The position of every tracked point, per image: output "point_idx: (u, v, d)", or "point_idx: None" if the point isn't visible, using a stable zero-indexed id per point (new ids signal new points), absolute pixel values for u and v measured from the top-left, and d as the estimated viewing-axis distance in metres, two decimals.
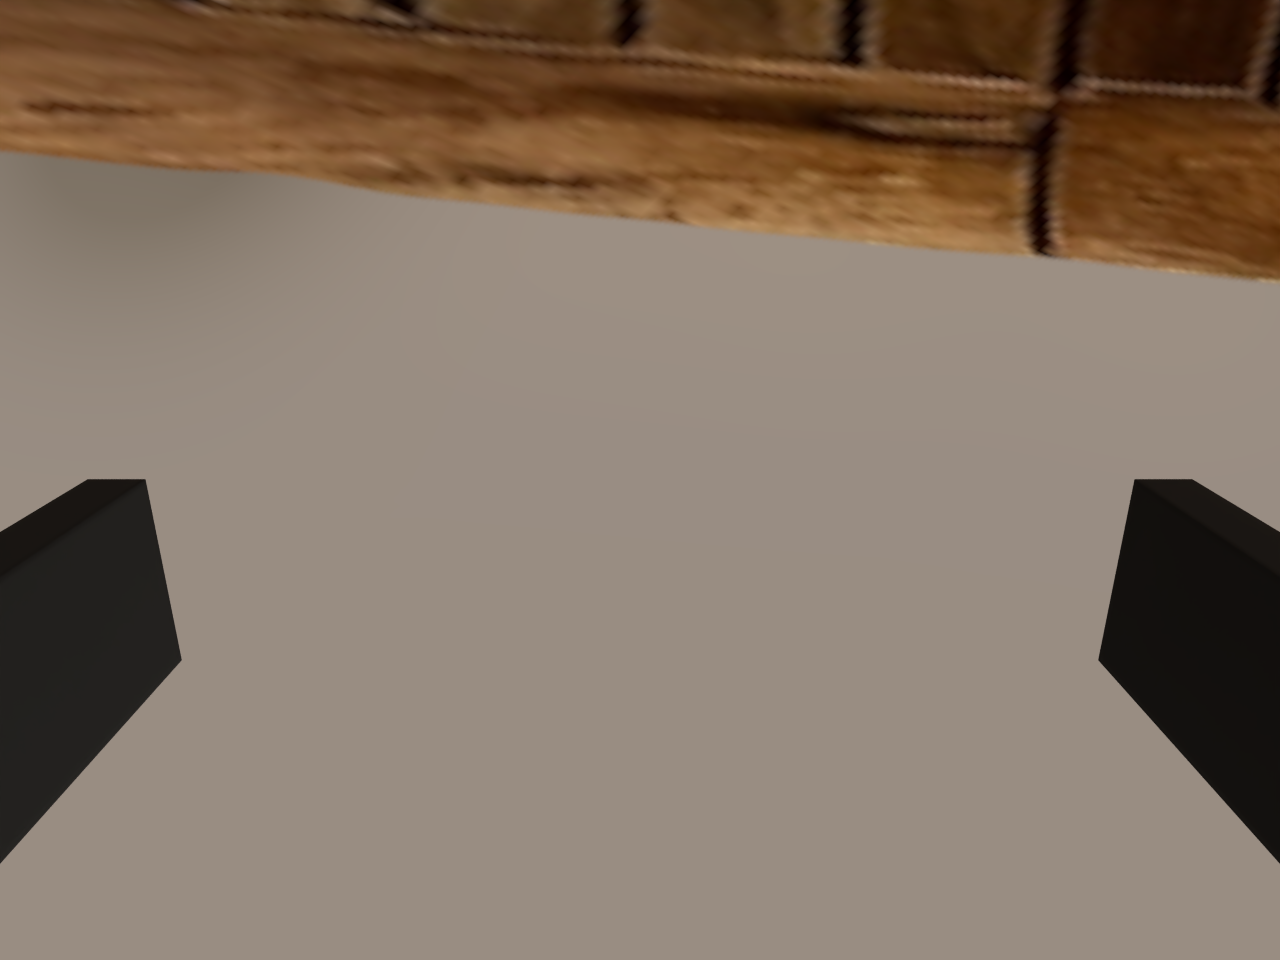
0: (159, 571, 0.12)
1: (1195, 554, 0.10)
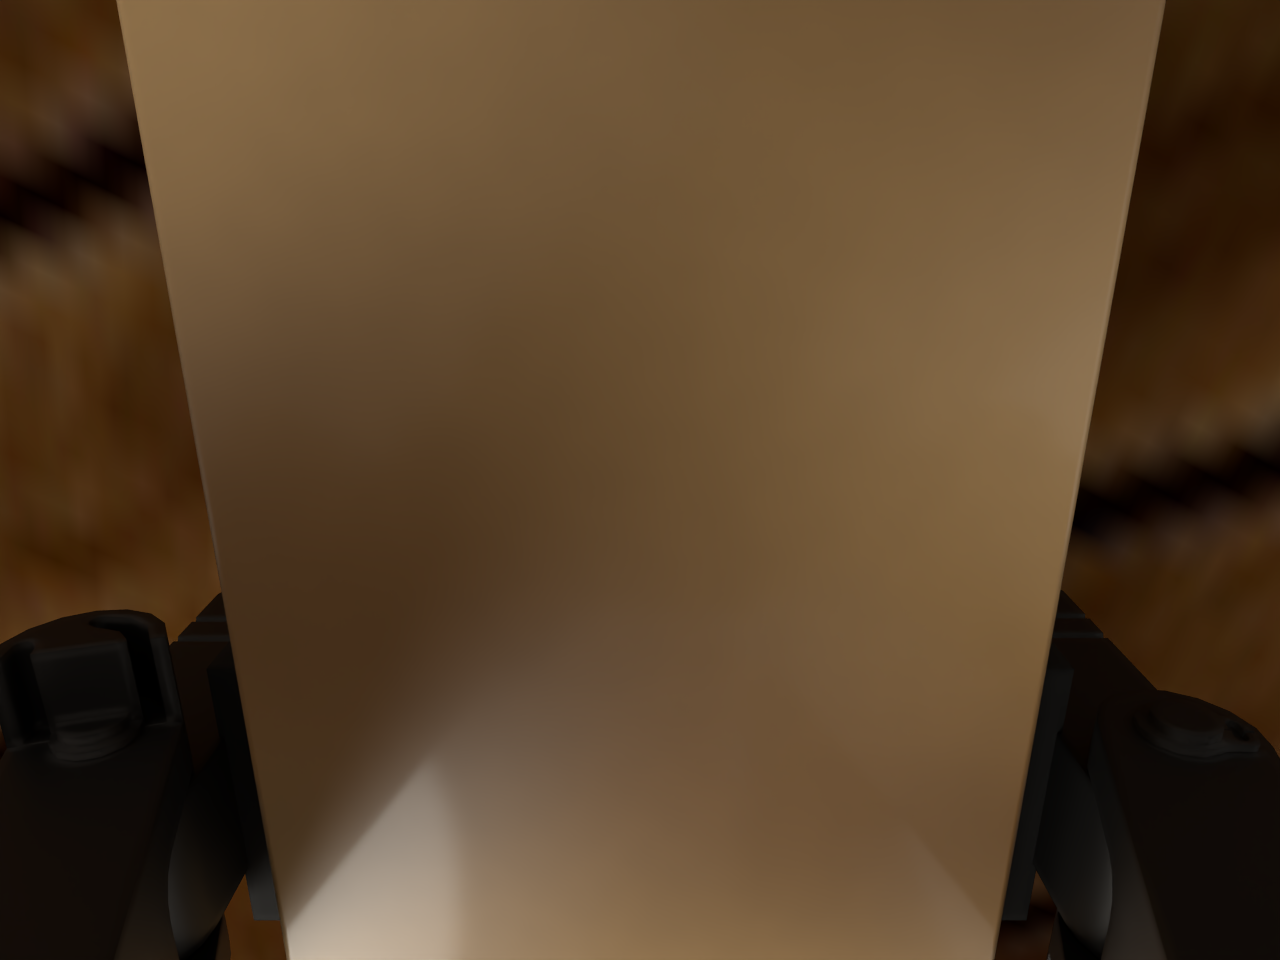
0: None
1: None
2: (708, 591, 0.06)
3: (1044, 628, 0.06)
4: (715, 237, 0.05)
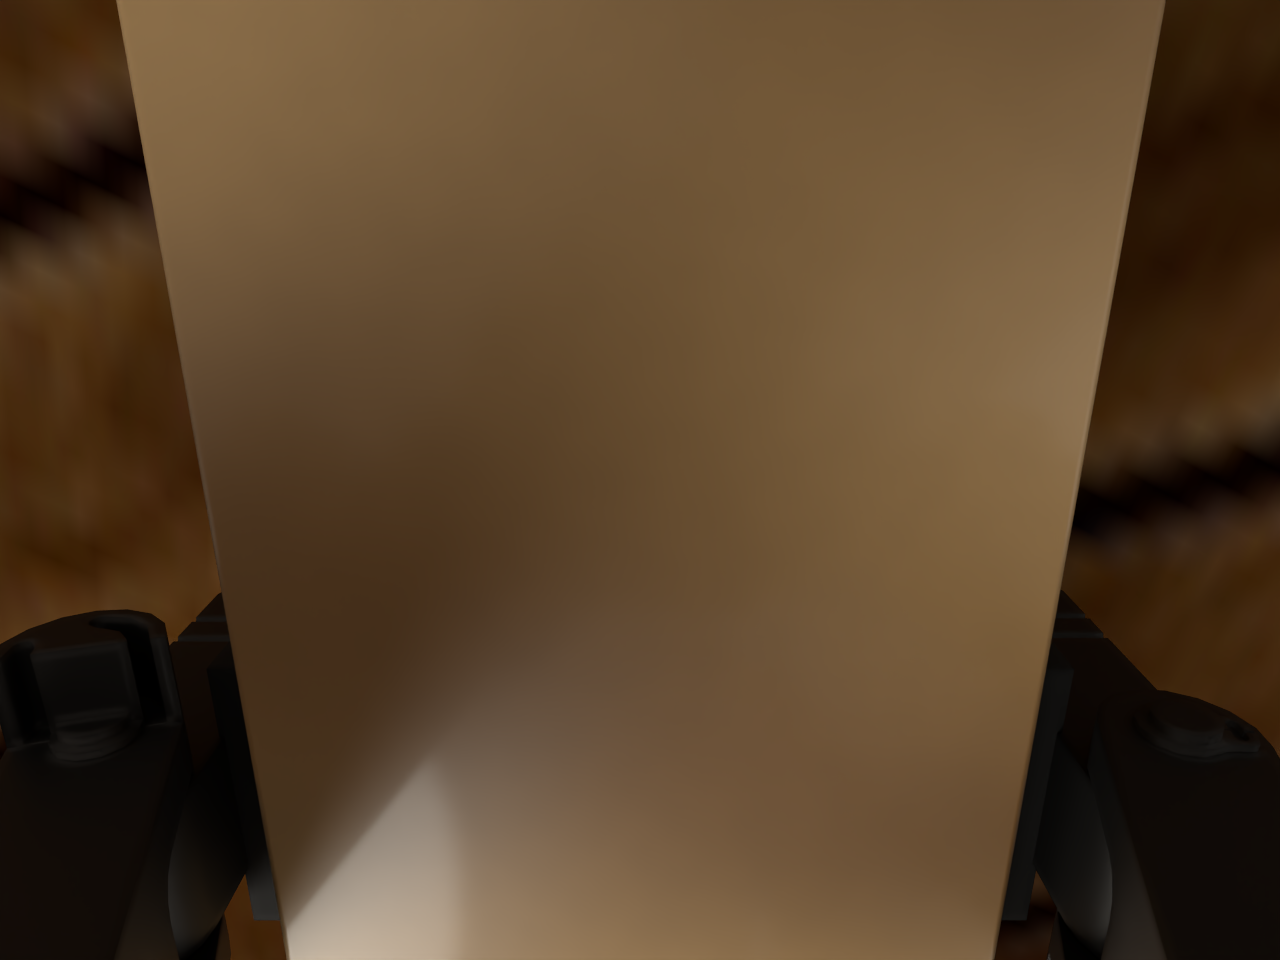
0: None
1: None
2: (709, 589, 0.06)
3: (1044, 628, 0.06)
4: (715, 237, 0.05)
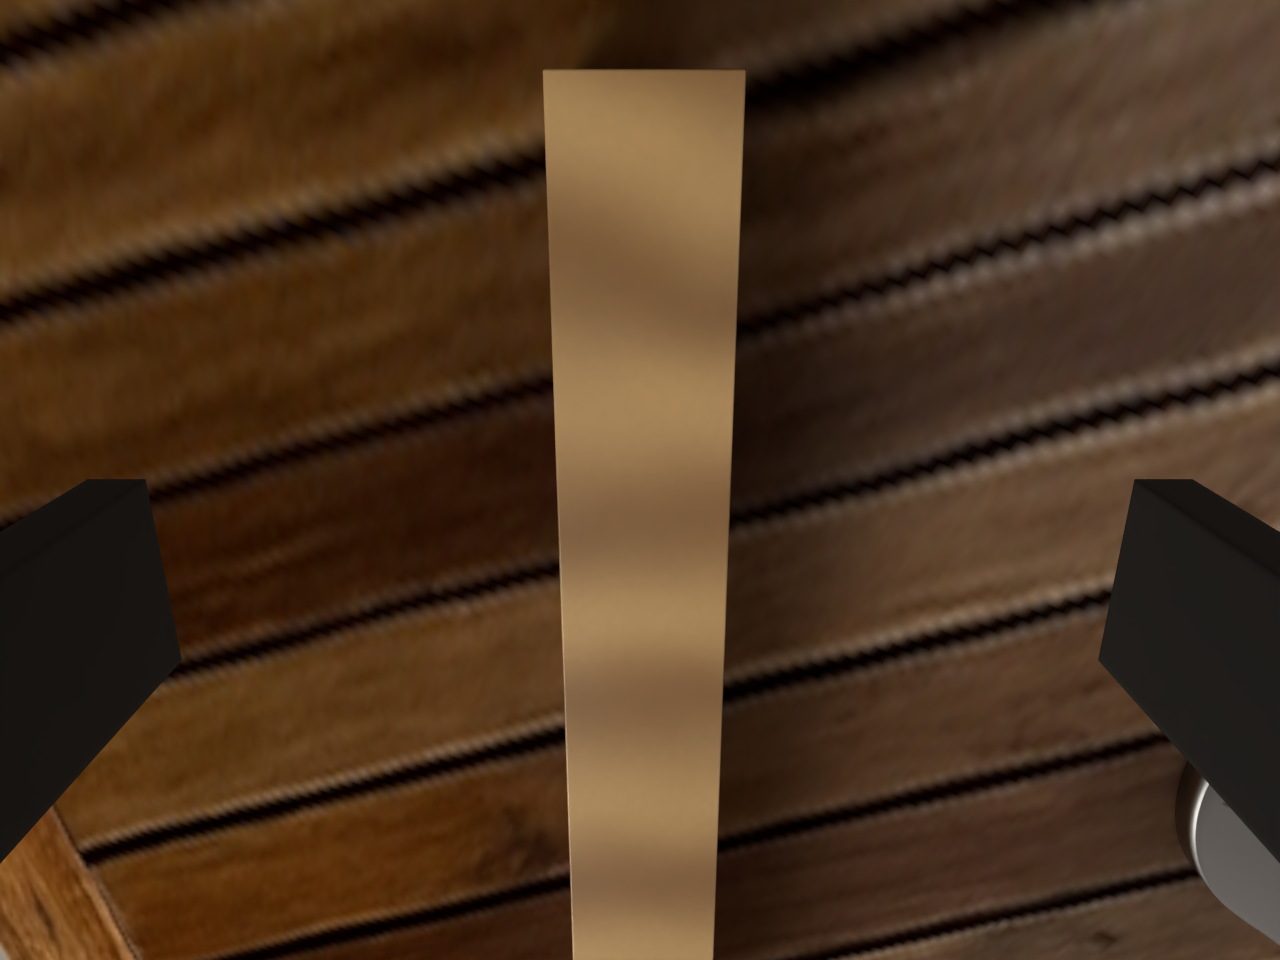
0: (159, 571, 0.12)
1: (1194, 554, 0.10)
2: (659, 246, 0.27)
3: (736, 256, 0.27)
4: (659, 164, 0.26)
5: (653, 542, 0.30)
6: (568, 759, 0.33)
